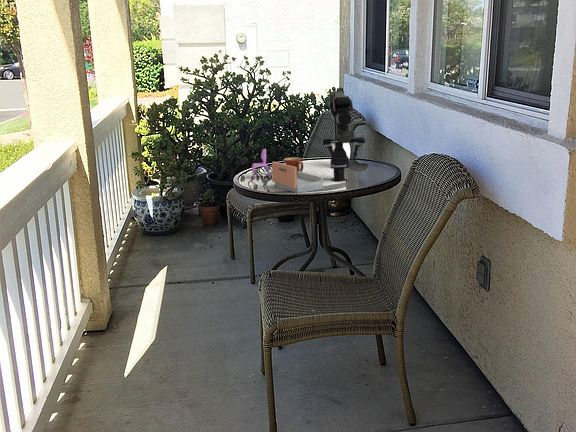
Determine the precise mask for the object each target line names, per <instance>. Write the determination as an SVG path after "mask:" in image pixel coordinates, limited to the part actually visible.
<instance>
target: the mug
mask: <svg viewBox="0 0 576 432" xmlns="http://www.w3.org/2000/svg"><path fill="white" fill-rule="evenodd" d="M301 159H302V158H301V157H296V156H292V157H285V158H283V161H284V164H286V165H290V166H294V167H297V175H298V171H301V172H304V162H303V161H301Z"/></svg>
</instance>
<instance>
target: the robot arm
mask: <svg viewBox="0 0 576 432" xmlns="http://www.w3.org/2000/svg"><path fill="white" fill-rule="evenodd" d="M328 109H329V110H330V114H331V116H332V118H333V130H334V133H333V134H334V136H333V137H334V139H332V138H329V137H327V138H322V140H321V145H322V146H324V147H325V148H327V149H328V151H329V153H330V160H329V161H330V169H331V170H332V169H333V177H332V178H331V180H333V181H334V182H342V181H344V182H345V181H346V182H347V181H348V178H346V169H349V168H350V159H349V158H348V156H347V153H346V151H345V150H344V148H343V143H349V144H350V143H353V144H354V145H353V155H352V156H353V161H355V160H356V157H357V153H358V151H359V147H360V146H363V144H365V143H366V139H365V137H364V136H356V137H355V130H350V123H351V121H352V116H351V113H349V112H352V111H353V110H354V107H353V101H352V99H351V98H350V97H349V95H345V91H344V90H334V91H332V95H330V96H329V98H328ZM333 143H335V148H334V150H333V148H332V144H333Z"/></svg>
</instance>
